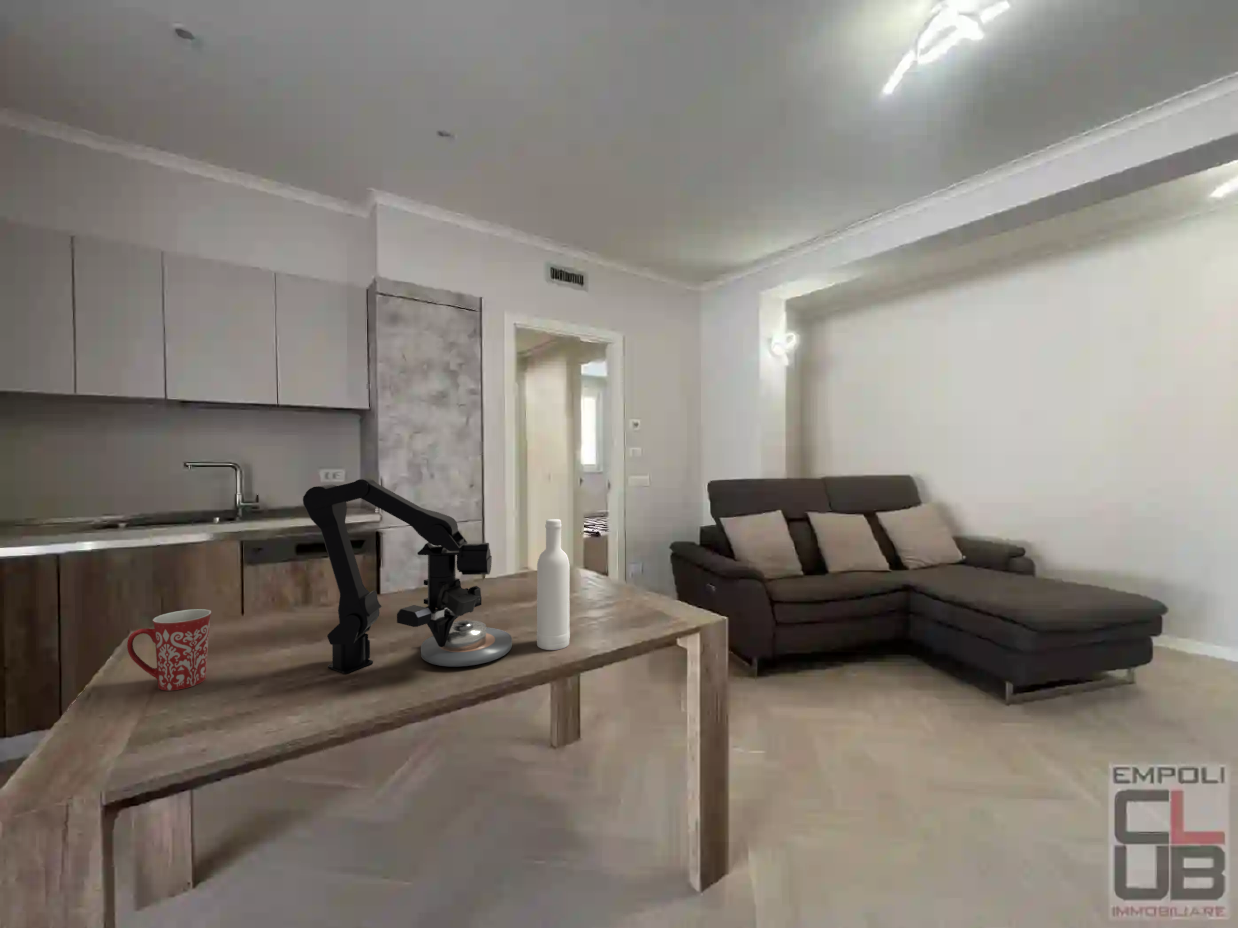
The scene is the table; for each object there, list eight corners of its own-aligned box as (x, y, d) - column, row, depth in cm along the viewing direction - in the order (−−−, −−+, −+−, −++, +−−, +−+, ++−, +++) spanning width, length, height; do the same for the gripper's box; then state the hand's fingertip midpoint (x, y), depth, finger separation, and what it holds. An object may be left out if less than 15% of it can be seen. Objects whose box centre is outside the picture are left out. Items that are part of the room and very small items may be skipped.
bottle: (566, 636, 130) (566, 517, 130) (573, 648, 123) (573, 521, 122) (534, 640, 128) (534, 518, 127) (539, 652, 120) (539, 522, 120)
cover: (463, 654, 112) (463, 633, 112) (430, 645, 117) (430, 625, 117) (495, 639, 121) (495, 620, 121) (463, 632, 126) (463, 613, 126)
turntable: (466, 673, 106) (466, 648, 106) (401, 654, 116) (401, 631, 116) (529, 642, 124) (529, 621, 124) (467, 628, 134) (467, 608, 134)
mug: (214, 669, 110) (213, 605, 110) (209, 685, 102) (208, 617, 102) (134, 683, 103) (133, 615, 103) (122, 702, 96) (120, 629, 95)
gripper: (433, 589, 101) (433, 669, 101) (499, 570, 117) (499, 640, 118) (395, 581, 106) (395, 658, 107) (463, 565, 123) (463, 631, 123)
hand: (441, 646), depth 113 cm, fingers closed
